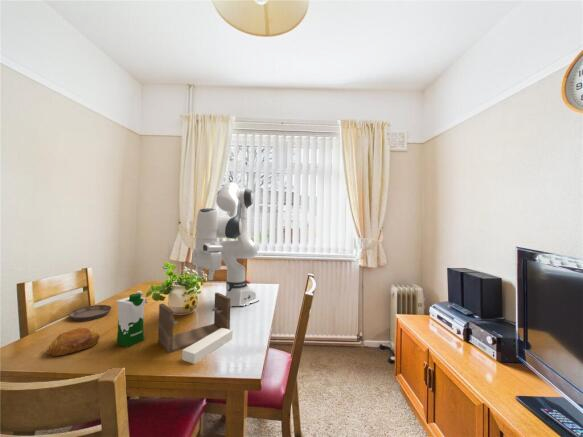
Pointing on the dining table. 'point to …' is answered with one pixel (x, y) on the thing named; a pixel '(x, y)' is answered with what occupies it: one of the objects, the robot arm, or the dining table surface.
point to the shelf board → (206, 345)
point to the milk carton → (130, 320)
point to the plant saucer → (90, 312)
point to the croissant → (73, 341)
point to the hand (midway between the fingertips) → (205, 278)
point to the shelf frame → (193, 336)
